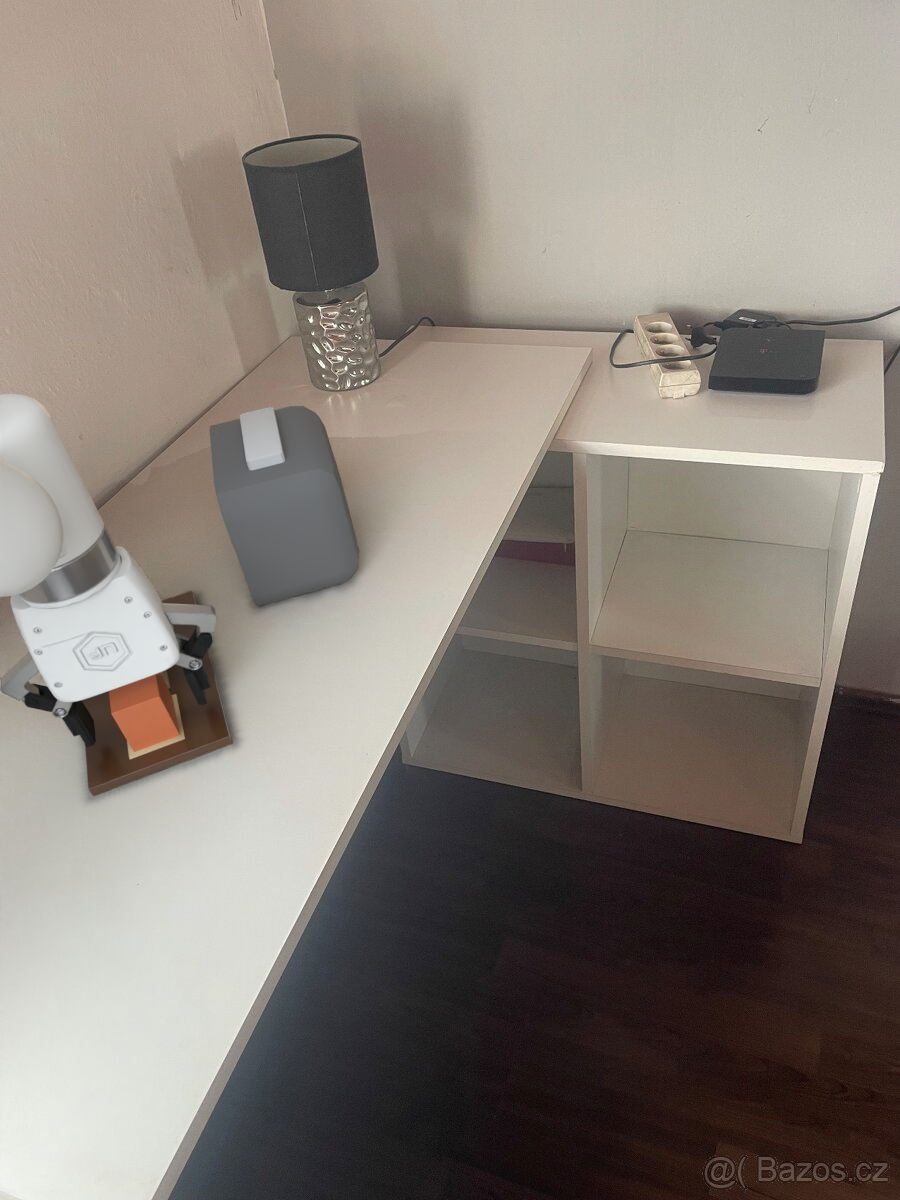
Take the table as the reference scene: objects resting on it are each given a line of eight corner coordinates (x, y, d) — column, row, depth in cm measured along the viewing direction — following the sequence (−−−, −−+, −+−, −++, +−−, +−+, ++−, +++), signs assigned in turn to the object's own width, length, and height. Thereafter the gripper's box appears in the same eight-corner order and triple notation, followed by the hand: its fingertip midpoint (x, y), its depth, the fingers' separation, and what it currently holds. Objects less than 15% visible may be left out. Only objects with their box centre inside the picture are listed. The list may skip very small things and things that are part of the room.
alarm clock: (248, 528, 99) (204, 406, 89) (344, 503, 100) (312, 380, 90) (260, 617, 87) (211, 488, 76) (369, 588, 88) (336, 457, 78)
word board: (232, 743, 74) (228, 735, 74) (93, 796, 72) (87, 788, 71) (195, 597, 91) (191, 589, 90) (80, 636, 88) (75, 628, 88)
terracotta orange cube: (180, 735, 75) (159, 696, 71) (134, 752, 74) (111, 713, 70) (172, 697, 78) (152, 658, 75) (128, 713, 77) (106, 674, 74)
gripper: (-63, 631, 59) (46, 783, 71) (185, 550, 63) (251, 707, 74) (-56, 571, 65) (45, 721, 76) (171, 499, 68) (236, 652, 79)
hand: (146, 714), depth 75 cm, fingers open, 9 cm apart
